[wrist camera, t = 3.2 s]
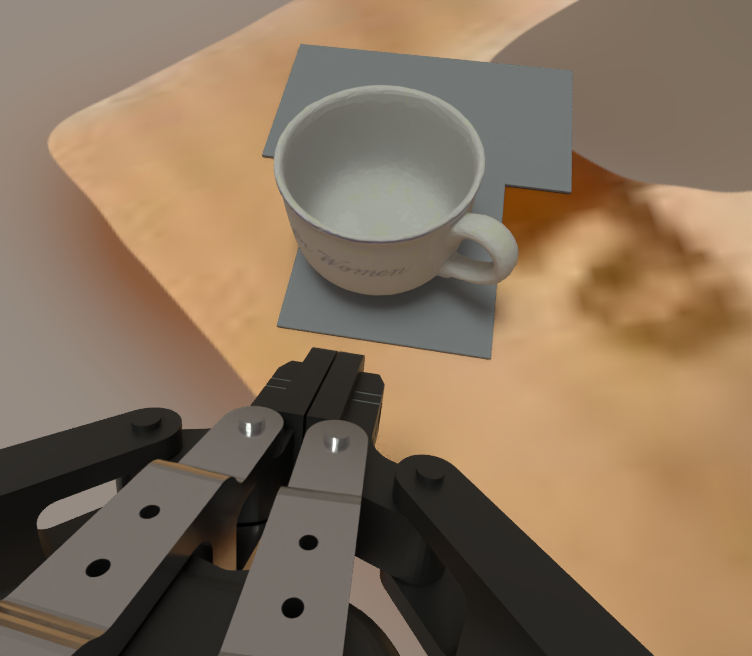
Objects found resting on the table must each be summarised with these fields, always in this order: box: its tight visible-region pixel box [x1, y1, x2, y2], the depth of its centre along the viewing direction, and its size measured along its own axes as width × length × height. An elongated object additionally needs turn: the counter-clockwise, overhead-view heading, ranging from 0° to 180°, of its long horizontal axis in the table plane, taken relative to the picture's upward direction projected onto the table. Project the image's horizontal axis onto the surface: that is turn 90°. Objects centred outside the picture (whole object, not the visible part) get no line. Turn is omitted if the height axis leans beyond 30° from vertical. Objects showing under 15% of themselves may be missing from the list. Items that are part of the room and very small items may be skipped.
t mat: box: [262, 44, 573, 359], centre depth 33 cm, size 22×25×1 cm
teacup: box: [274, 85, 518, 295], centre depth 27 cm, size 14×11×8 cm
